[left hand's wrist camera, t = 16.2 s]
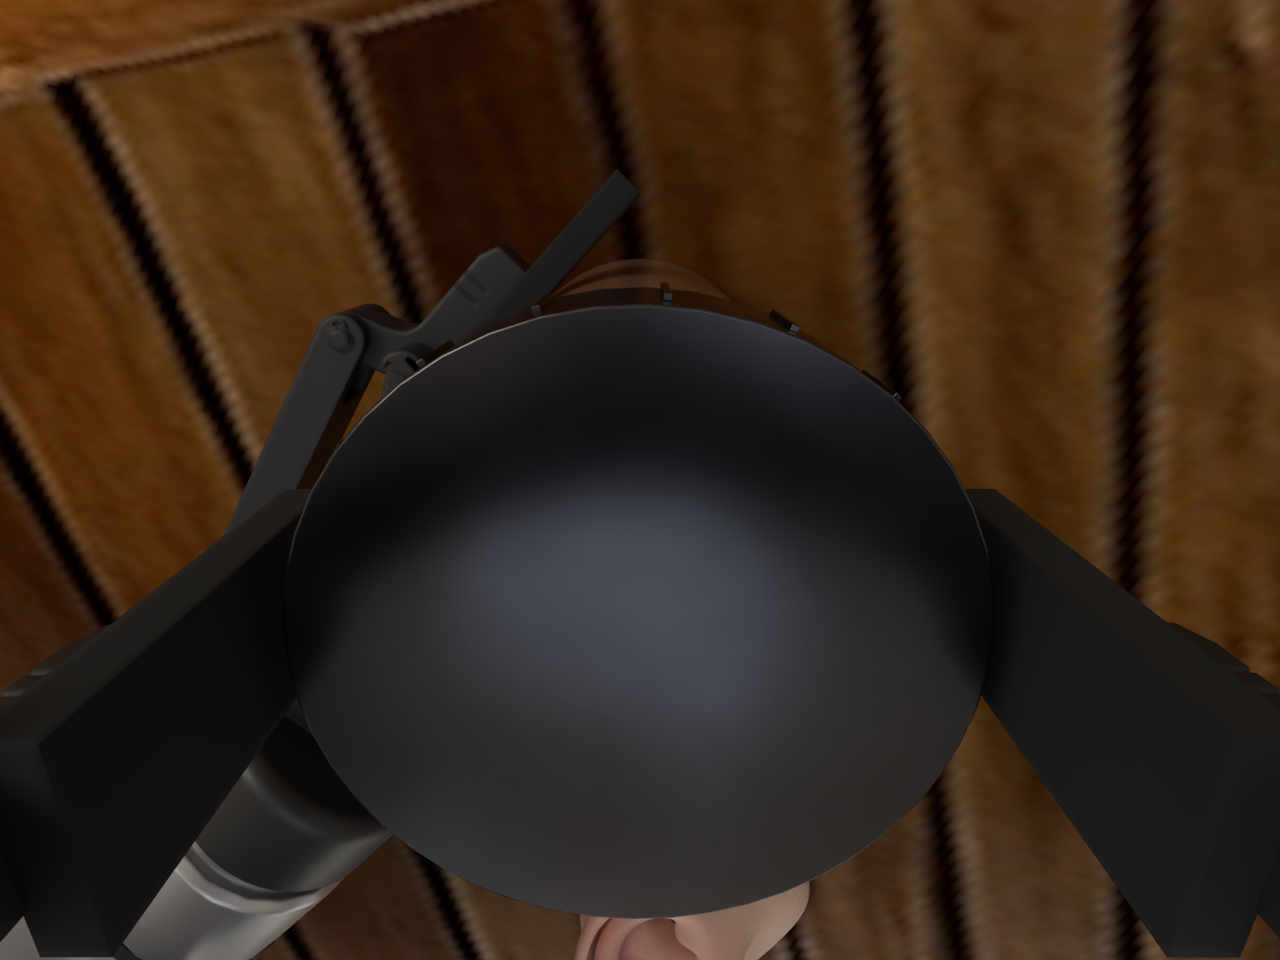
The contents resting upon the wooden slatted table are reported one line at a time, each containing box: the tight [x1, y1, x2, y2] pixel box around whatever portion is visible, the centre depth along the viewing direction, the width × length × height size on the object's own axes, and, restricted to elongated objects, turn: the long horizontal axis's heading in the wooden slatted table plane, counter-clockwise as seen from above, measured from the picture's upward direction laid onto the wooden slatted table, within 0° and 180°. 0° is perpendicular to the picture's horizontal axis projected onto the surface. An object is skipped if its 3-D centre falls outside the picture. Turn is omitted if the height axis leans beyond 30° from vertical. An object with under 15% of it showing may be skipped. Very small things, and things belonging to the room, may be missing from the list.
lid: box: [283, 282, 994, 919], centre depth 11 cm, size 10×10×2 cm
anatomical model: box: [574, 882, 810, 960], centre depth 34 cm, size 13×4×12 cm
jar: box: [553, 259, 731, 300], centre depth 19 cm, size 9×9×17 cm
